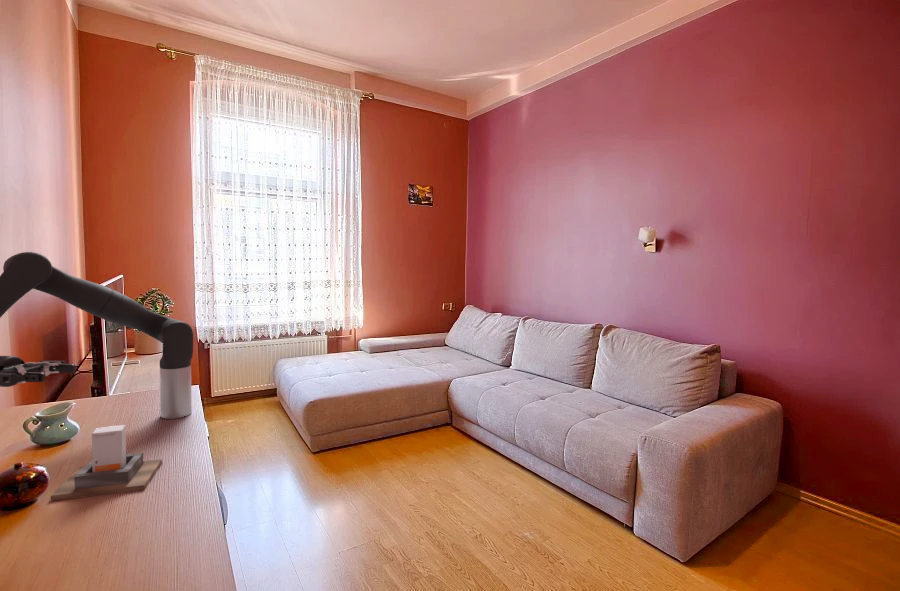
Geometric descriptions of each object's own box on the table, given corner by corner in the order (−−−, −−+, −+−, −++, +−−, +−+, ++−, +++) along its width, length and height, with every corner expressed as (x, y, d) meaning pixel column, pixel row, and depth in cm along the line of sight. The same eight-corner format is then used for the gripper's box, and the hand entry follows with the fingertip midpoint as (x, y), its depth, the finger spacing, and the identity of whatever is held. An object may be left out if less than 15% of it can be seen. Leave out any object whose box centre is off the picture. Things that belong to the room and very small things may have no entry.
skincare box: (92, 482, 105) (90, 433, 104) (97, 474, 109) (95, 427, 108) (123, 477, 108) (122, 430, 107) (127, 470, 111) (126, 424, 110)
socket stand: (80, 471, 112) (79, 455, 112) (161, 463, 118) (161, 448, 117) (50, 500, 99) (50, 482, 98) (144, 489, 105) (144, 472, 104)
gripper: (-40, 362, 101) (32, 364, 101) (20, 350, 115) (83, 351, 115) (-38, 394, 101) (33, 396, 102) (21, 378, 116) (84, 379, 116)
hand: (59, 372), depth 108 cm, fingers open, 8 cm apart
